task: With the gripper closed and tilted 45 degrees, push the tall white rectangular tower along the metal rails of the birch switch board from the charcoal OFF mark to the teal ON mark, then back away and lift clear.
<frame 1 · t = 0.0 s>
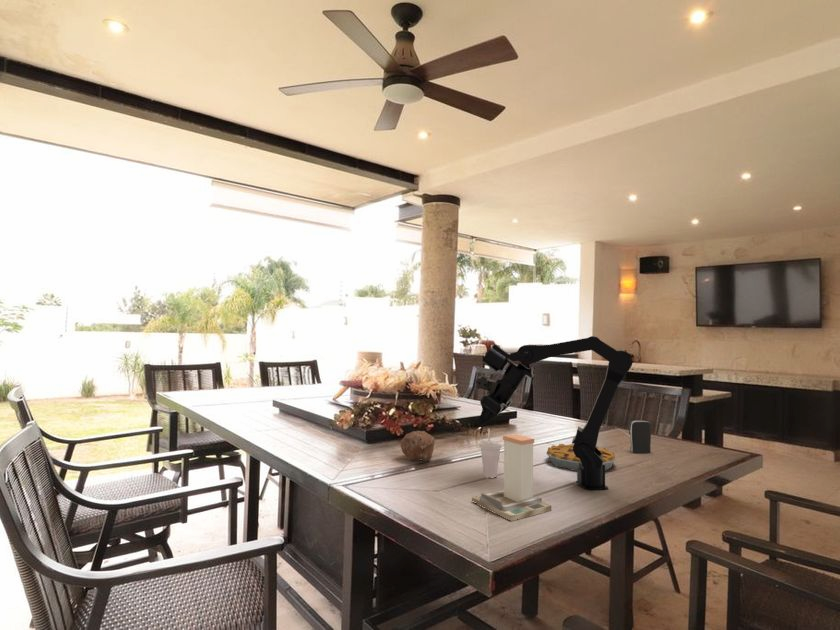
hand: (482, 423, 143), 15 cm above the table, tool tilted 35°, fingers open, 9 cm apart
switch base: (510, 506, 115), on the table
pie: (580, 464, 155), on the table
decorative rock: (417, 460, 157), on the table
white rectangular tower: (518, 467, 116), point 9 cm above the table, slide at 0.0 cm
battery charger: (639, 452, 171), on the table
smoothie: (490, 477, 139), on the table
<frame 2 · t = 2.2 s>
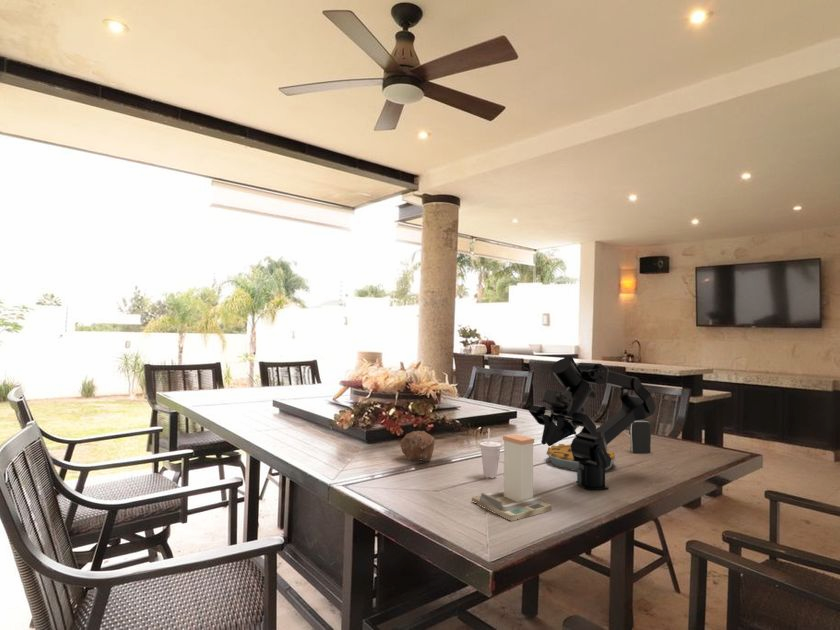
hand: (545, 444, 122), 14 cm above the table, tool tilted 45°, fingers closed
nothing on the table moved.
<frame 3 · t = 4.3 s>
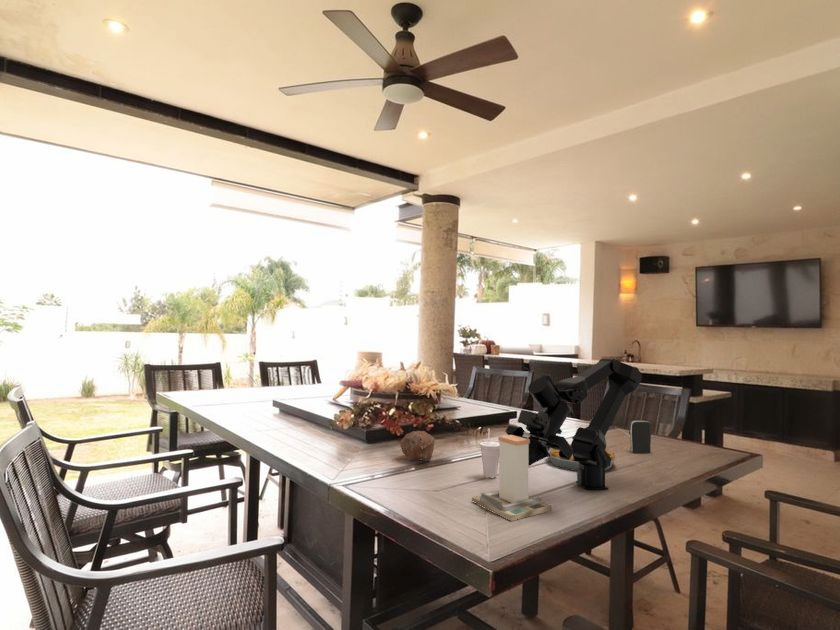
hand: (520, 467, 117), 9 cm above the table, tool tilted 45°, fingers closed, pressing on white rectangular tower
white rectangular tower: (513, 468, 116), point 9 cm above the table, slide at 1.6 cm, touching gripper
everything else where it was.
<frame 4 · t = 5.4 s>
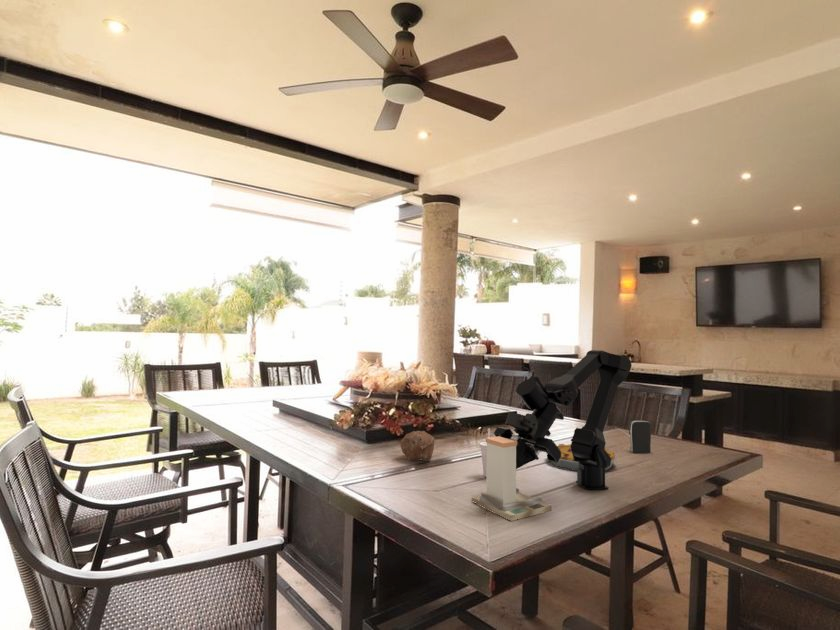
hand: (508, 470, 115), 9 cm above the table, tool tilted 45°, fingers closed
white rectangular tower: (501, 471, 113), point 9 cm above the table, slide at 5.7 cm
everything else where it was.
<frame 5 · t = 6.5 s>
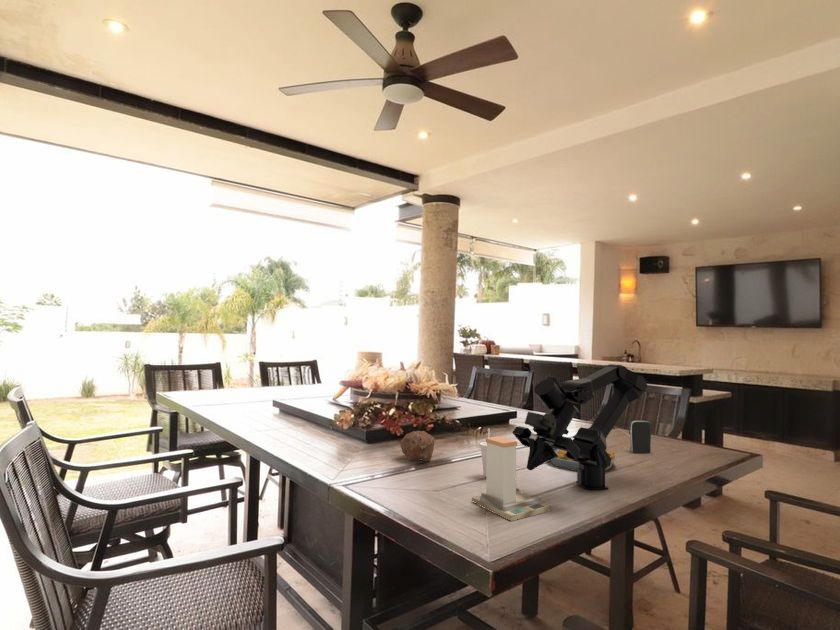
hand: (528, 469, 118), 8 cm above the table, tool tilted 45°, fingers closed
nothing on the table moved.
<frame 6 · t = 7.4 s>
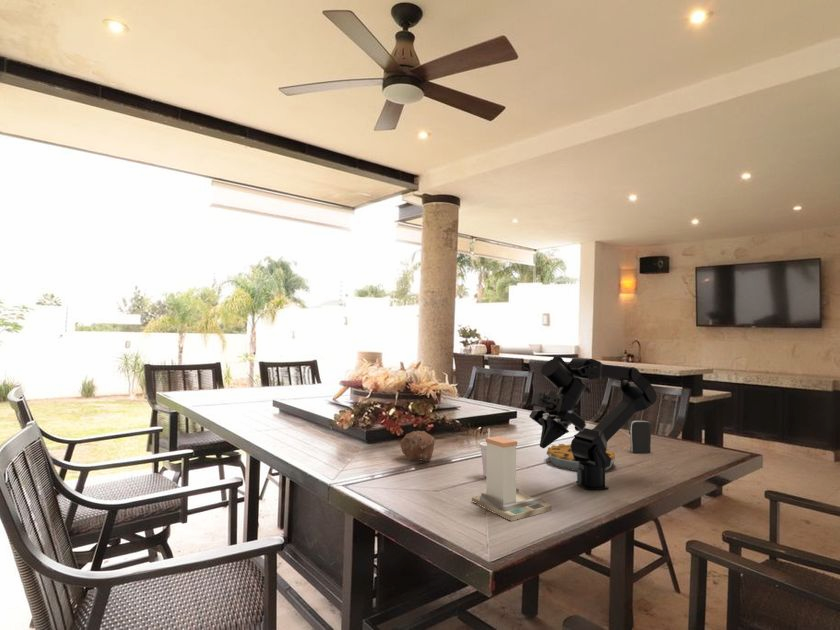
hand: (541, 447, 123), 13 cm above the table, tool tilted 35°, fingers closed
nothing on the table moved.
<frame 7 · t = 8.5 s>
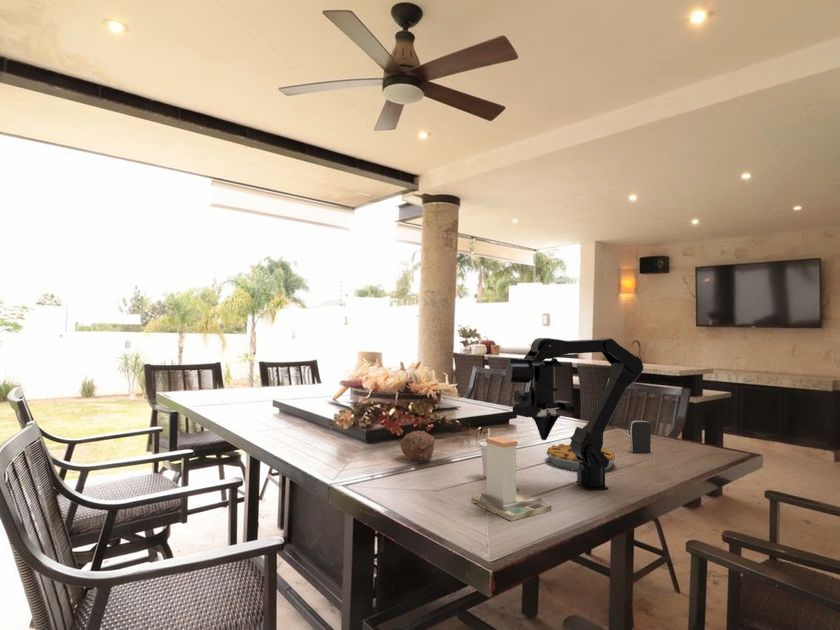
hand: (543, 439, 130), 13 cm above the table, tool pointing down, fingers closed
nothing on the table moved.
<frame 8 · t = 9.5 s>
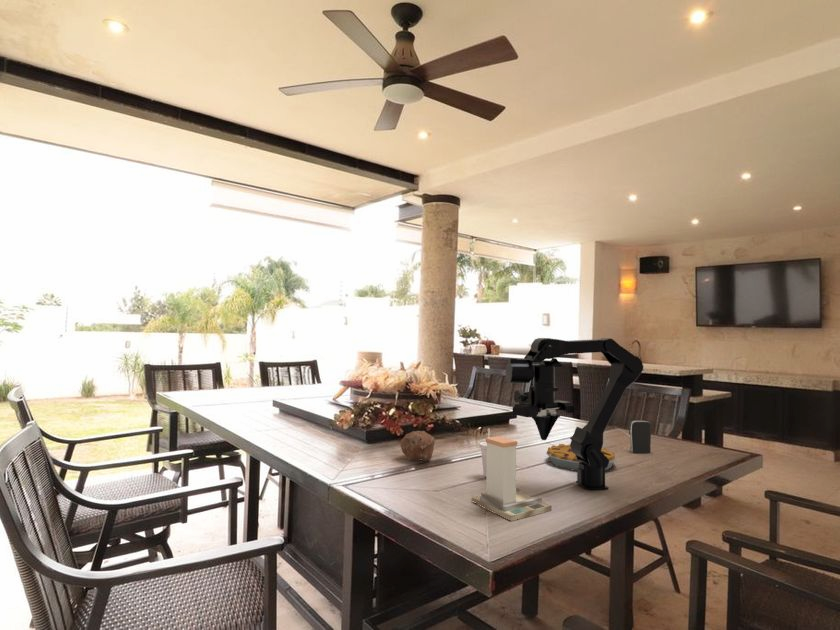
hand: (543, 439, 130), 13 cm above the table, tool pointing down, fingers closed
nothing on the table moved.
at the end: white rectangular tower slide at 5.7 cm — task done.
